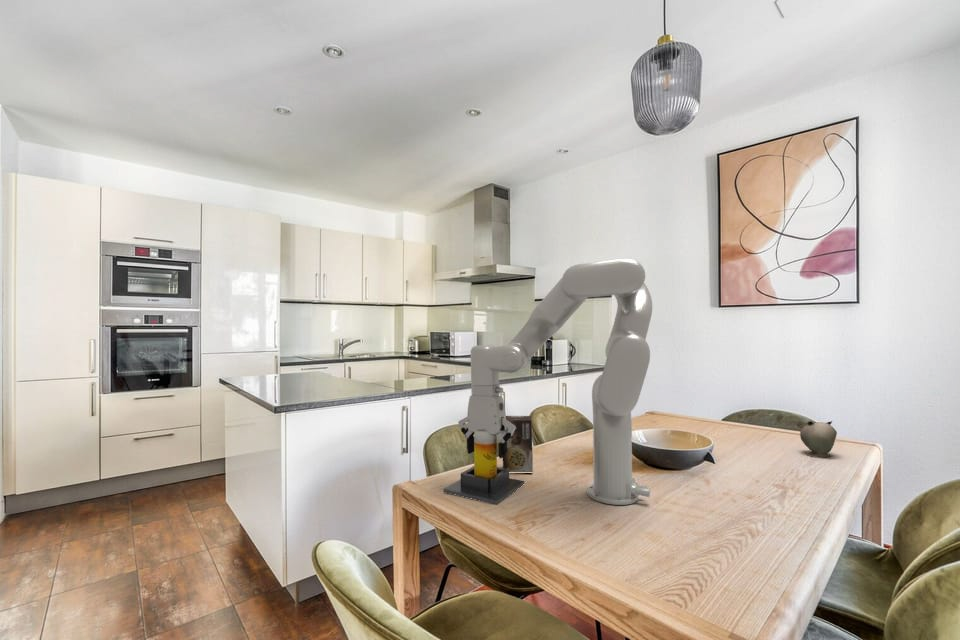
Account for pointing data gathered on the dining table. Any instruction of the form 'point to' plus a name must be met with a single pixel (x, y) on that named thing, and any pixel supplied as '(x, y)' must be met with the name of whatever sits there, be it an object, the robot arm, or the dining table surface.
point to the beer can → (485, 454)
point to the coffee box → (519, 445)
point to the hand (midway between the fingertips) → (486, 454)
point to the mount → (485, 486)
